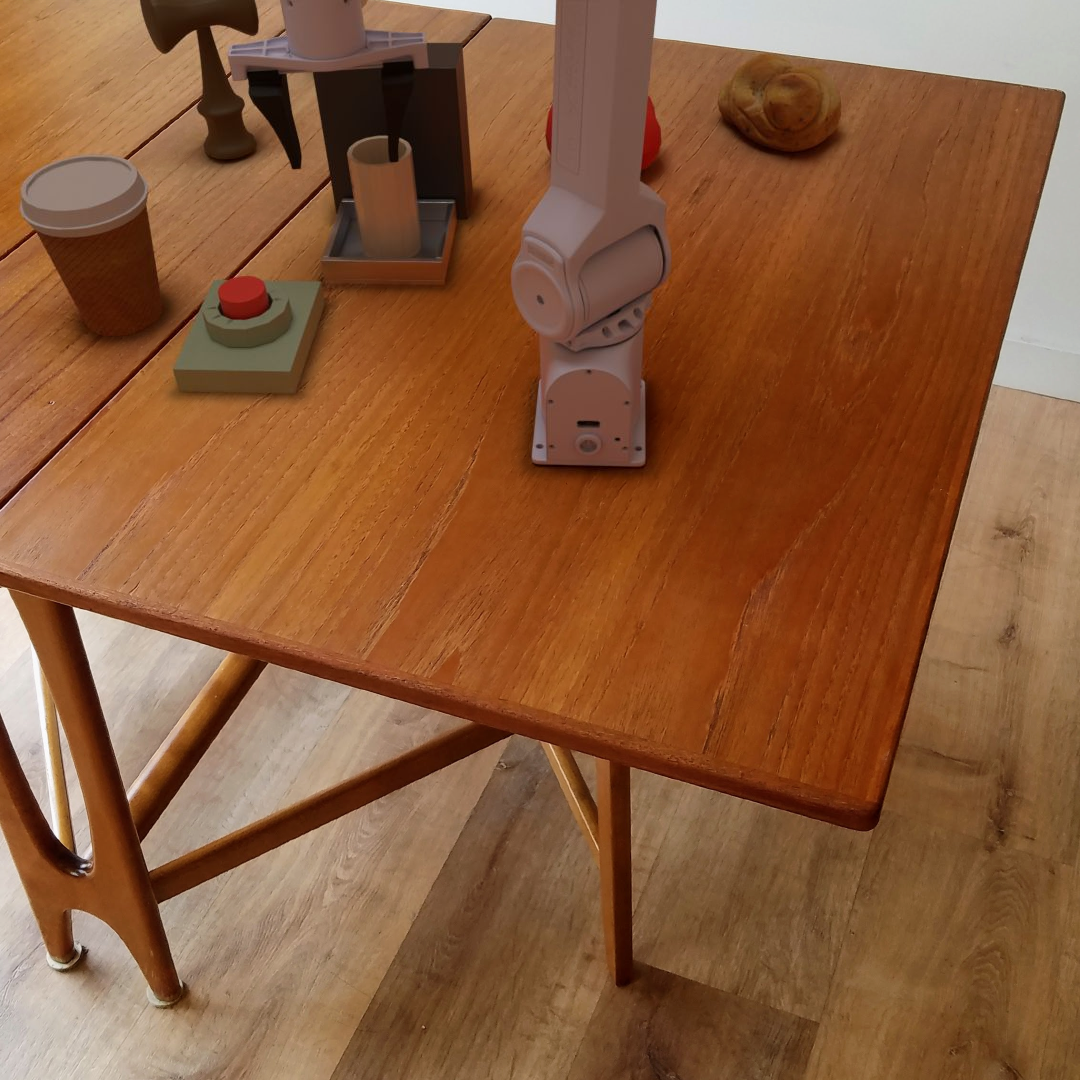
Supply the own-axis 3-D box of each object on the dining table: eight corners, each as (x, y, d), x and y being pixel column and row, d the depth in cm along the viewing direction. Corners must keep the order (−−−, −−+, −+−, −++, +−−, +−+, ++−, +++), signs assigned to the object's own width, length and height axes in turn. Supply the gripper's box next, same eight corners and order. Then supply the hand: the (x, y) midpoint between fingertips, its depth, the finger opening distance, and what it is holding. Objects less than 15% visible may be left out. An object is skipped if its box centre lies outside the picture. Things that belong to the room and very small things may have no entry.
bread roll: (695, 121, 117) (700, 42, 111) (765, 94, 121) (774, 16, 115) (784, 171, 109) (796, 88, 104) (856, 140, 113) (871, 59, 108)
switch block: (295, 394, 88) (285, 351, 85) (179, 392, 88) (166, 349, 85) (325, 303, 96) (317, 261, 93) (219, 302, 96) (208, 260, 94)
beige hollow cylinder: (417, 263, 99) (406, 166, 92) (357, 263, 99) (342, 166, 93) (425, 231, 102) (415, 135, 96) (367, 230, 103) (353, 135, 96)
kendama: (287, 151, 115) (246, -65, 100) (194, 176, 111) (137, -43, 97) (266, 127, 118) (223, -84, 104) (175, 151, 115) (118, -63, 101)
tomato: (665, 186, 108) (669, 119, 103) (548, 192, 108) (547, 125, 103) (652, 137, 115) (656, 72, 110) (543, 142, 115) (541, 77, 110)
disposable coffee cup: (64, 358, 92) (11, 223, 83) (65, 293, 98) (16, 161, 89) (186, 336, 93) (146, 202, 84) (179, 274, 100) (141, 143, 91)
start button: (263, 321, 88) (259, 302, 87) (217, 321, 88) (212, 301, 87) (274, 294, 91) (269, 275, 89) (229, 294, 91) (224, 275, 90)
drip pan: (443, 285, 97) (441, 261, 96) (324, 283, 98) (320, 260, 96) (457, 222, 104) (455, 199, 103) (346, 220, 105) (342, 197, 103)
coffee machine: (467, 220, 105) (455, 67, 95) (337, 219, 105) (311, 67, 95) (473, 192, 108) (462, 42, 98) (346, 191, 109) (323, 42, 99)
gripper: (418, -46, 85) (434, 129, 95) (220, -34, 84) (257, 142, 94) (421, -9, 80) (438, 172, 90) (210, 4, 79) (250, 185, 89)
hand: (345, 159), depth 92 cm, fingers open, 7 cm apart
